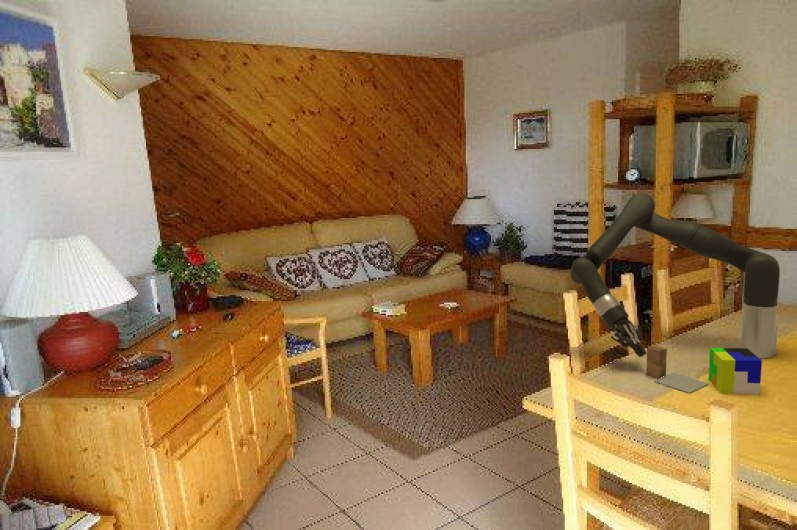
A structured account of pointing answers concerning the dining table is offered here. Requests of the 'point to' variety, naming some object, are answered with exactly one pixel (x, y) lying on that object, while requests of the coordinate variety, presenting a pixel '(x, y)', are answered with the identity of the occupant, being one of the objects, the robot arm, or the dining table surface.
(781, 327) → the dining table surface
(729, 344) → the dining table surface
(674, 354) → the dining table surface
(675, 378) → the felt mat
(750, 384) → the puzzle toy
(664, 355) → the walnut block
